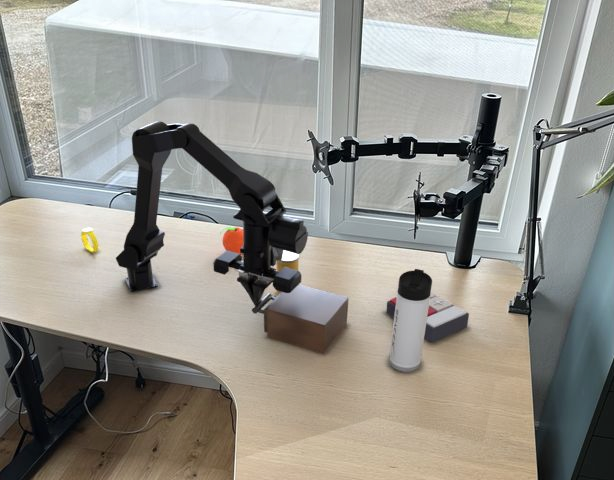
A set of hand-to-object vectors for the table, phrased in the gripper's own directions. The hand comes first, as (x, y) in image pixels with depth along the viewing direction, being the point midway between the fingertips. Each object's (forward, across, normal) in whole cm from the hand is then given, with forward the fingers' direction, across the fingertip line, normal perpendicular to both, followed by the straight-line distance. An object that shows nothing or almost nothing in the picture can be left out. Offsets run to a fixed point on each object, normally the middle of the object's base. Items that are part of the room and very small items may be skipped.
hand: (256, 304), depth 145 cm
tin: (+3, -2, -12) cm, 12 cm away
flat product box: (+2, -34, -16) cm, 38 cm away
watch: (+5, +54, -8) cm, 54 cm away
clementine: (+4, +20, -24) cm, 32 cm away
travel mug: (+2, -35, +1) cm, 35 cm away
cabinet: (+3, -13, 0) cm, 13 cm away
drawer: (+2, -9, 0) cm, 9 cm away
